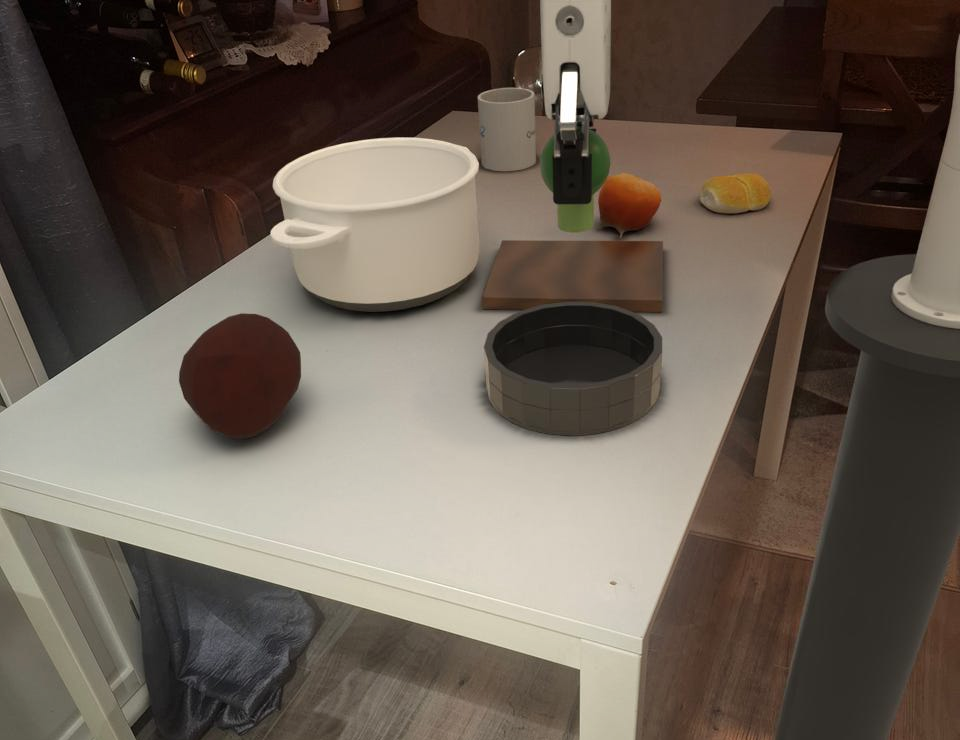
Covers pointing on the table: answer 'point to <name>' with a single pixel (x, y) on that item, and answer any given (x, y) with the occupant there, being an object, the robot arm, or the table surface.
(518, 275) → the board
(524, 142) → the mug
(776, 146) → the table surface
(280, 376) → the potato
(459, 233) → the pot
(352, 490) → the table surface
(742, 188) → the bread roll
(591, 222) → the broccoli
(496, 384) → the pan
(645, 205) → the fruit
